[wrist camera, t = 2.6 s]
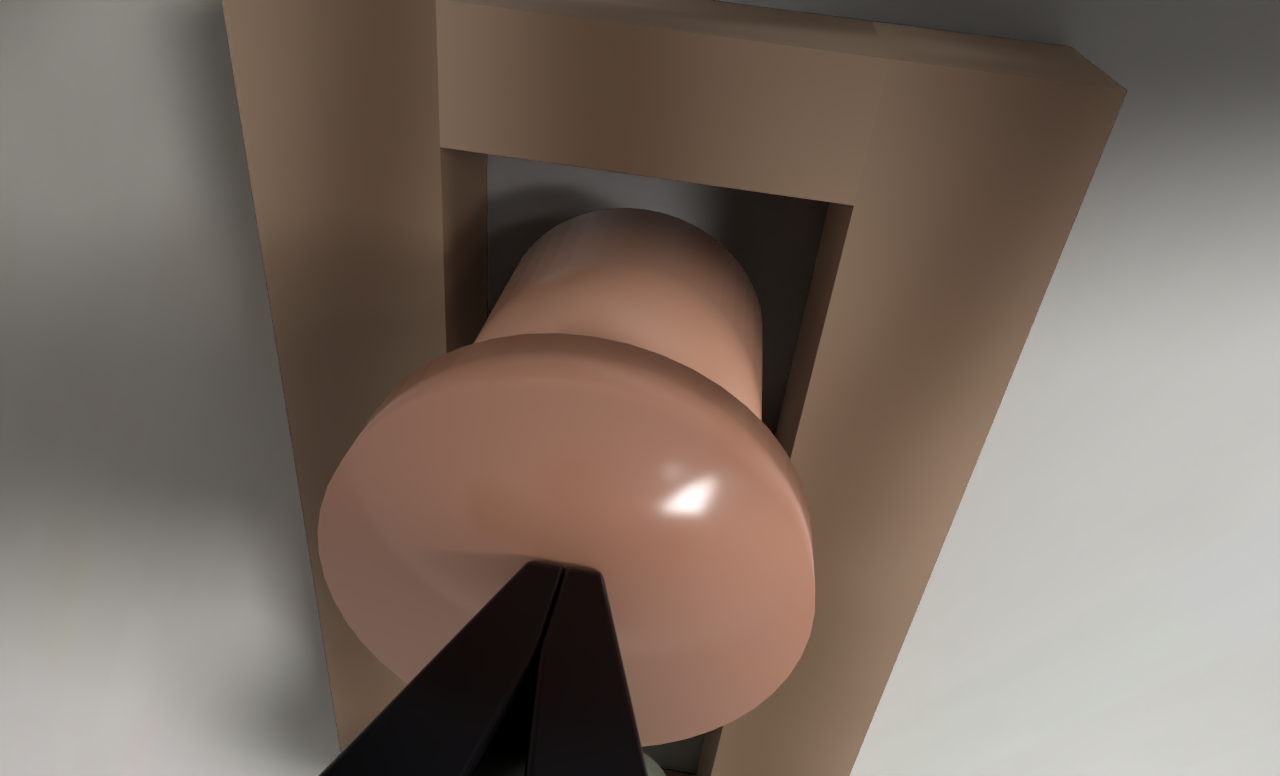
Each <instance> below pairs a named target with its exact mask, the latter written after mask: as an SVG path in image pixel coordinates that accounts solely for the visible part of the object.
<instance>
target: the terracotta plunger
mask: <svg viewBox="0 0 1280 776" xmlns="http://www.w3.org/2000/svg"><path fill="white" fill-rule="evenodd" d="M762 357H763V322H762V315H761V309H760V304H759V301H758V298H757V295H756V292H755V290H754V288H753V286H752V284H751V282H750V280H749V278H748V276H747V274H746V273H745V271H744V270H743V268H742V267H741V265H740V264H739V262H738V261H737V260H736V259H735V258H734V257H733V256H732V255H731V253H730V252H729V251H728V250H727V249H726V248H725V247H724V246H722V245H721V244H720V243H719V242H718V241H717V240H715V239H714V238H713V237H712V236H710V235H709V234H707V233H706V232H704V231H702V230H701V229H699V228H698V227H696V226H694V225H692V224H690V223H688V222H686V221H684V220H681V219H679V218H676V217H673V216H670V215H667V214H664V213H660V212H655V211H650V210H645V209H633V208H615V209H605V210H599V211H593V212H589V213H586V214H583V215H579V216H576V217H574V218H571V219H569V220H567V221H565V222H563V223H561V224H559V225H557V226H556V227H554V228H553V229H551V230H550V231H548V232H547V233H545V234H544V235H543V236H542V237H541V238H539V239H538V240H537V241H536V242H535V243H534V244H533V245H532V246H531V247H530V248H529V250H528V251H527V252H526V253H525V254H524V256H523V257H522V259H521V260H520V262H519V264H518V265H517V267H516V269H515V270H514V272H513V274H512V276H511V277H510V279H509V281H508V283H507V285H506V286H505V288H504V290H503V292H502V293H501V295H500V297H499V299H498V301H497V302H496V304H495V306H494V308H493V309H492V311H491V313H490V315H489V317H488V318H487V320H486V322H485V324H484V325H483V327H482V329H481V331H480V333H479V334H478V336H477V338H476V340H475V341H474V343H473V344H471V345H467V346H464V347H461V348H458V349H456V350H454V351H452V352H449V353H447V354H445V355H442V356H440V357H438V358H435V359H434V360H432V361H430V362H429V363H427V364H426V365H424V366H422V367H421V368H419V369H418V370H416V371H414V372H413V373H411V374H410V375H409V376H408V377H406V378H405V379H404V380H403V381H402V382H401V383H400V384H398V385H397V386H396V387H395V388H394V389H393V390H392V391H391V392H390V393H389V394H388V395H387V397H386V398H385V399H384V400H383V401H382V403H381V404H380V405H379V406H378V408H377V409H376V410H375V412H374V413H373V415H372V416H371V418H370V419H369V421H368V422H367V424H366V425H365V427H364V428H363V430H362V431H361V433H360V434H359V436H358V437H357V439H356V440H355V442H354V443H353V445H352V446H351V448H350V449H349V451H348V452H347V454H346V455H345V457H344V458H343V460H342V461H341V463H340V464H339V466H338V468H337V470H336V471H335V473H334V475H333V477H332V479H331V481H330V482H329V484H328V486H327V489H326V492H325V495H324V499H323V502H322V505H321V508H320V516H319V524H318V546H319V557H320V561H321V565H322V569H323V574H324V578H325V580H326V583H327V585H328V588H329V590H330V592H331V595H332V597H333V600H334V602H335V603H336V605H337V607H338V609H339V610H340V612H341V614H342V615H343V617H344V619H345V621H346V622H347V623H348V625H349V626H350V627H351V629H352V630H353V631H354V633H355V634H356V635H357V637H358V638H359V639H360V641H361V642H362V643H363V644H364V645H365V646H366V647H367V648H368V649H369V650H370V651H371V652H372V654H373V655H374V656H375V657H376V658H377V659H378V660H379V661H380V662H381V663H383V664H384V665H385V666H386V667H387V668H388V669H390V670H391V671H392V672H393V673H394V674H395V675H397V676H398V677H399V678H400V679H402V680H403V681H404V682H406V683H407V684H409V683H410V681H411V680H412V679H413V678H414V677H415V676H416V675H417V674H418V673H419V672H420V671H421V670H422V669H423V668H424V667H425V666H426V665H427V664H428V663H429V662H430V661H431V660H432V659H433V658H434V657H435V656H436V655H437V654H438V653H439V652H440V651H441V650H442V649H443V648H444V647H445V646H446V645H447V644H448V643H449V641H450V640H451V639H452V638H453V637H454V636H455V635H456V634H457V633H458V632H459V631H460V630H461V629H462V628H463V627H464V626H465V625H466V624H467V623H468V622H469V621H470V620H471V619H472V618H473V617H474V616H475V615H476V614H477V613H478V612H479V611H480V610H481V609H482V608H483V607H484V606H485V605H486V604H487V602H488V601H489V600H490V599H491V598H492V597H493V596H494V595H495V594H496V593H497V592H498V591H499V590H500V589H501V588H502V587H503V586H504V585H505V584H506V583H507V582H508V581H509V580H510V579H511V578H512V577H513V576H514V575H515V574H516V573H517V572H518V571H519V570H520V569H521V568H522V567H523V566H524V565H525V564H526V563H527V562H529V561H532V560H535V561H541V562H547V563H553V564H559V565H561V566H562V567H563V568H564V569H565V570H566V569H567V568H569V567H578V568H584V569H590V570H596V571H599V572H601V573H602V575H603V577H604V581H605V585H606V590H607V594H608V599H609V603H610V607H611V612H612V616H613V621H614V625H615V630H616V634H617V639H618V643H619V647H620V652H621V656H622V661H623V665H624V670H625V674H626V678H627V683H628V687H629V692H630V696H631V701H632V705H633V710H634V714H635V718H636V723H637V727H638V732H639V736H640V741H641V745H642V747H644V746H653V745H661V744H665V743H670V742H675V741H680V740H684V739H688V738H691V737H694V736H697V735H700V734H704V733H707V732H710V731H712V730H715V729H717V728H719V727H721V726H723V725H726V724H728V723H730V722H732V721H734V720H736V719H738V718H739V717H741V716H743V715H744V714H746V713H748V712H749V711H751V710H753V709H754V708H756V707H757V706H758V705H759V704H760V703H762V702H763V701H764V700H765V699H767V698H768V697H769V696H770V695H772V694H773V693H774V692H775V691H776V690H777V688H778V687H779V686H780V685H781V684H782V683H783V682H784V681H785V680H786V679H787V678H788V676H789V675H790V673H791V672H792V670H793V669H794V667H795V666H796V664H797V663H798V661H799V660H800V658H801V656H802V654H803V651H804V649H805V647H806V644H807V642H808V639H809V637H810V633H811V629H812V624H813V619H814V614H815V576H814V559H813V542H812V525H811V519H810V513H809V507H808V501H807V498H806V495H805V492H804V489H803V486H802V483H801V480H800V477H799V475H798V473H797V471H796V470H795V468H794V466H793V464H792V462H791V460H790V458H789V456H788V455H787V453H786V451H785V450H784V449H783V447H782V446H781V444H780V443H779V442H778V440H777V439H776V438H775V436H774V435H773V434H772V432H771V431H770V430H769V428H768V427H767V426H766V425H765V424H764V423H763V422H762Z"/></svg>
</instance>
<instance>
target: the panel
mask: <svg viewBox="0 0 1280 776" xmlns="http://www.w3.org/2000/svg"><path fill="white" fill-rule="evenodd" d="M222 7H223V13H224V19H225V26H226V32H227V38H228V45H229V51H230V57H231V63H232V70H233V76H234V82H235V89H236V95H237V101H238V108H239V114H240V120H241V126H242V133H243V139H244V145H245V152H246V158H247V164H248V170H249V177H250V183H251V189H252V196H253V202H254V208H255V215H256V221H257V227H258V233H259V240H260V246H261V252H262V259H263V265H264V271H265V278H266V284H267V290H268V296H269V303H270V309H271V315H272V322H273V328H274V334H275V340H276V347H277V353H278V359H279V366H280V372H281V378H282V385H283V391H284V397H285V403H286V410H287V416H288V422H289V429H290V435H291V441H292V448H293V454H294V460H295V466H296V473H297V479H298V485H299V492H300V498H301V504H302V510H303V517H304V523H305V529H306V536H307V542H308V548H309V555H310V561H311V567H312V573H313V580H314V586H315V592H316V599H317V605H318V611H319V618H320V624H321V630H322V636H323V643H324V649H325V655H326V662H327V668H328V674H329V680H330V687H331V693H332V699H333V706H334V712H335V718H336V725H337V731H338V737H339V743H340V750H341V752H342V751H343V750H344V749H345V748H346V747H347V746H348V745H349V744H350V743H351V742H352V741H353V740H354V739H355V738H356V737H357V736H358V735H359V734H360V733H361V732H362V731H363V730H364V729H365V728H366V727H367V726H368V725H369V724H370V723H371V722H372V720H373V719H374V718H375V717H376V716H377V715H378V714H379V713H380V712H381V711H382V710H383V709H384V708H385V707H386V706H387V705H388V704H389V703H390V702H391V701H392V700H393V699H394V698H395V697H396V696H397V695H398V694H399V693H400V692H401V691H402V690H403V689H404V688H405V687H406V686H407V685H408V684H407V683H406V682H404V681H403V680H402V679H400V678H399V677H398V676H397V675H395V674H394V673H393V672H392V671H391V670H390V669H388V668H387V667H386V666H385V665H384V664H383V663H381V662H380V661H379V660H378V659H377V658H376V657H375V656H374V655H373V654H372V652H371V651H370V650H369V649H368V648H367V647H366V646H365V645H364V644H363V643H362V642H361V641H360V639H359V638H358V637H357V635H356V634H355V633H354V631H353V630H352V629H351V627H350V626H349V625H348V623H347V622H346V621H345V619H344V617H343V615H342V614H341V612H340V610H339V609H338V607H337V605H336V603H335V602H334V600H333V597H332V595H331V592H330V590H329V588H328V585H327V583H326V580H325V578H324V574H323V569H322V565H321V561H320V557H319V546H318V524H319V516H320V508H321V505H322V502H323V499H324V495H325V492H326V489H327V486H328V484H329V482H330V481H331V479H332V477H333V475H334V473H335V471H336V470H337V468H338V466H339V464H340V463H341V461H342V460H343V458H344V457H345V455H346V454H347V452H348V451H349V449H350V448H351V446H352V445H353V443H354V442H355V440H356V439H357V437H358V436H359V434H360V433H361V431H362V430H363V428H364V427H365V425H366V424H367V422H368V421H369V419H370V418H371V416H372V415H373V413H374V412H375V410H376V409H377V408H378V406H379V405H380V404H381V403H382V401H383V400H384V399H385V398H386V397H387V395H388V394H389V393H390V392H391V391H392V390H393V389H394V388H395V387H396V386H397V385H398V384H400V383H401V382H402V381H403V380H404V379H405V378H406V377H408V376H409V375H410V374H411V373H413V372H414V371H416V370H418V369H419V368H421V367H422V366H424V365H426V364H427V363H429V362H430V361H432V360H434V359H435V358H438V357H440V356H442V355H445V354H447V353H449V352H452V351H454V350H456V349H458V348H461V347H464V346H467V345H471V344H473V343H474V341H475V340H476V338H477V336H478V334H479V333H480V331H481V329H482V327H483V325H484V324H485V322H486V320H487V154H492V155H499V156H506V157H513V158H520V159H527V160H534V161H541V162H549V163H556V164H563V165H570V166H577V167H584V168H591V169H598V170H605V171H612V172H619V173H627V174H634V175H641V176H648V177H655V178H662V179H669V180H676V181H683V182H690V183H697V184H705V185H712V186H719V187H726V188H733V189H740V190H747V191H754V192H761V193H768V194H775V195H783V196H790V197H797V198H804V199H811V200H818V201H825V202H830V203H829V207H828V211H827V215H826V220H825V224H824V228H823V232H822V237H821V241H820V245H819V250H818V254H817V258H816V262H815V267H814V271H813V275H812V279H811V284H810V288H809V292H808V297H807V301H806V305H805V309H804V314H803V318H802V322H801V327H800V331H799V335H798V339H797V344H796V348H795V352H794V356H793V361H792V365H791V369H790V374H789V378H788V382H787V386H786V391H785V395H784V399H783V403H782V408H781V412H780V416H779V421H778V425H777V429H776V433H775V438H776V439H777V440H778V442H779V443H780V444H781V446H782V447H783V449H784V450H785V451H786V453H787V455H788V456H789V458H790V460H791V462H792V464H793V466H794V468H795V470H796V471H797V473H798V475H799V477H800V480H801V483H802V486H803V489H804V492H805V495H806V498H807V501H808V507H809V513H810V519H811V525H812V542H813V559H814V576H815V614H814V619H813V624H812V629H811V633H810V637H809V639H808V642H807V644H806V647H805V649H804V651H803V654H802V656H801V658H800V660H799V661H798V663H797V664H796V666H795V667H794V669H793V670H792V672H791V673H790V675H789V676H788V678H787V679H786V680H785V681H784V682H783V683H782V684H781V685H780V686H779V687H778V688H777V690H776V691H775V692H774V693H773V694H772V695H770V696H769V697H768V698H767V699H765V700H764V701H763V702H762V703H760V704H759V705H758V706H757V707H756V708H754V709H753V710H751V711H749V712H748V713H746V714H744V715H743V716H741V717H739V718H738V719H736V720H734V721H732V722H730V723H728V724H726V725H723V726H721V727H719V728H717V729H715V730H712V731H710V732H707V733H705V737H704V741H703V746H702V750H701V754H700V758H699V763H698V767H697V771H696V775H692V774H686V773H681V772H675V771H669V770H663V769H662V770H663V771H664V773H665V775H666V776H849V775H850V773H851V770H852V768H853V765H854V763H855V760H856V758H857V755H858V753H859V750H860V748H861V745H862V743H863V741H864V738H865V736H866V733H867V731H868V728H869V726H870V723H871V721H872V718H873V716H874V713H875V711H876V709H877V706H878V704H879V701H880V699H881V696H882V694H883V691H884V689H885V686H886V684H887V681H888V679H889V677H890V674H891V672H892V669H893V667H894V664H895V662H896V659H897V657H898V654H899V652H900V649H901V647H902V644H903V642H904V640H905V637H906V635H907V632H908V630H909V627H910V625H911V622H912V620H913V617H914V615H915V612H916V610H917V608H918V605H919V603H920V600H921V598H922V595H923V593H924V590H925V588H926V585H927V583H928V580H929V578H930V576H931V573H932V571H933V568H934V566H935V563H936V561H937V558H938V556H939V553H940V551H941V548H942V546H943V543H944V541H945V539H946V536H947V534H948V531H949V529H950V526H951V524H952V521H953V519H954V516H955V514H956V511H957V509H958V507H959V504H960V502H961V499H962V497H963V494H964V492H965V489H966V487H967V484H968V482H969V479H970V477H971V475H972V472H973V470H974V467H975V465H976V462H977V460H978V457H979V455H980V452H981V450H982V447H983V445H984V443H985V440H986V438H987V435H988V433H989V430H990V428H991V425H992V423H993V420H994V418H995V415H996V413H997V410H998V408H999V406H1000V403H1001V401H1002V398H1003V396H1004V393H1005V391H1006V388H1007V386H1008V383H1009V381H1010V378H1011V376H1012V374H1013V371H1014V369H1015V366H1016V364H1017V361H1018V359H1019V356H1020V354H1021V351H1022V349H1023V346H1024V344H1025V342H1026V339H1027V337H1028V334H1029V332H1030V329H1031V327H1032V324H1033V322H1034V319H1035V317H1036V314H1037V312H1038V309H1039V307H1040V305H1041V302H1042V300H1043V297H1044V295H1045V292H1046V290H1047V287H1048V285H1049V282H1050V280H1051V277H1052V275H1053V273H1054V270H1055V268H1056V265H1057V263H1058V260H1059V258H1060V255H1061V253H1062V250H1063V248H1064V245H1065V243H1066V241H1067V238H1068V236H1069V233H1070V231H1071V228H1072V226H1073V223H1074V221H1075V218H1076V216H1077V213H1078V211H1079V209H1080V206H1081V204H1082V201H1083V199H1084V196H1085V194H1086V191H1087V189H1088V186H1089V184H1090V181H1091V179H1092V176H1093V174H1094V172H1095V169H1096V167H1097V164H1098V162H1099V159H1100V157H1101V154H1102V152H1103V149H1104V147H1105V144H1106V142H1107V140H1108V137H1109V135H1110V132H1111V130H1112V127H1113V125H1114V122H1115V120H1116V117H1117V115H1118V112H1119V110H1120V108H1121V105H1122V103H1123V100H1124V98H1125V95H1126V93H1127V90H1126V89H1125V88H1123V87H1122V86H1121V85H1119V84H1118V83H1117V82H1115V81H1114V80H1113V79H1112V78H1110V77H1109V76H1108V75H1106V74H1105V73H1104V72H1102V71H1101V70H1100V69H1099V68H1097V67H1096V66H1095V65H1093V64H1092V63H1091V62H1089V61H1088V60H1087V59H1086V58H1084V57H1083V56H1082V55H1080V54H1079V53H1078V52H1076V51H1075V50H1074V49H1073V48H1071V47H1066V46H1058V45H1051V44H1043V43H1035V42H1028V41H1020V40H1012V39H1005V38H997V37H989V36H982V35H974V34H966V33H959V32H951V31H943V30H936V29H928V28H920V27H913V26H905V25H897V24H890V23H882V22H874V21H867V20H859V19H851V18H844V17H836V16H828V15H821V14H813V13H805V12H798V11H790V10H783V9H775V8H767V7H760V6H752V5H744V4H737V3H729V2H721V1H714V0H222Z"/></svg>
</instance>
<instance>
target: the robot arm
mask: <svg viewBox="0 0 1280 776" xmlns="http://www.w3.org/2000/svg"><path fill="white" fill-rule="evenodd" d="M319 776H648V772H647V767H646V763H645V758H644V754H643V749H642V745H641V741H640V736H639V732H638V727H637V723H636V718H635V714H634V710H633V705H632V701H631V696H630V692H629V687H628V683H627V678H626V674H625V670H624V665H623V661H622V656H621V652H620V647H619V643H618V639H617V634H616V630H615V625H614V621H613V616H612V612H611V607H610V603H609V599H608V594H607V590H606V585H605V581H604V577H603V575H602V573H601V572H599V571H596V570H590V569H584V568H578V567H569V568H567V569H566V570H565V569H564V568H563V567H562V566H561V565H559V564H553V563H547V562H541V561H535V560H532V561H529V562H527V563H526V564H525V565H524V566H523V567H522V568H521V569H520V570H519V571H518V572H517V573H516V574H515V575H514V576H513V577H512V578H511V579H510V580H509V581H508V582H507V583H506V584H505V585H504V586H503V587H502V588H501V589H500V590H499V591H498V592H497V593H496V594H495V595H494V596H493V597H492V598H491V599H490V600H489V601H488V602H487V604H486V605H485V606H484V607H483V608H482V609H481V610H480V611H479V612H478V613H477V614H476V615H475V616H474V617H473V618H472V619H471V620H470V621H469V622H468V623H467V624H466V625H465V626H464V627H463V628H462V629H461V630H460V631H459V632H458V633H457V634H456V635H455V636H454V637H453V638H452V639H451V640H450V641H449V643H448V644H447V645H446V646H445V647H444V648H443V649H442V650H441V651H440V652H439V653H438V654H437V655H436V656H435V657H434V658H433V659H432V660H431V661H430V662H429V663H428V664H427V665H426V666H425V667H424V668H423V669H422V670H421V671H420V672H419V673H418V674H417V675H416V676H415V677H414V678H413V679H412V680H411V681H410V683H409V684H408V685H407V686H406V687H405V688H404V689H403V690H402V691H401V692H400V693H399V694H398V695H397V696H396V697H395V698H394V699H393V700H392V701H391V702H390V703H389V704H388V705H387V706H386V707H385V708H384V709H383V710H382V711H381V712H380V713H379V714H378V715H377V716H376V717H375V718H374V719H373V720H372V722H371V723H370V724H369V725H368V726H367V727H366V728H365V729H364V730H363V731H362V732H361V733H360V734H359V735H358V736H357V737H356V738H355V739H354V740H353V741H352V742H351V743H350V744H349V745H348V746H347V747H346V748H345V749H344V750H343V751H342V752H341V753H340V754H339V755H338V756H337V757H336V758H335V759H334V760H333V762H332V763H331V764H330V765H329V766H328V767H327V768H326V769H325V770H324V771H323V772H322V773H321V774H320V775H319Z"/></svg>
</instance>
